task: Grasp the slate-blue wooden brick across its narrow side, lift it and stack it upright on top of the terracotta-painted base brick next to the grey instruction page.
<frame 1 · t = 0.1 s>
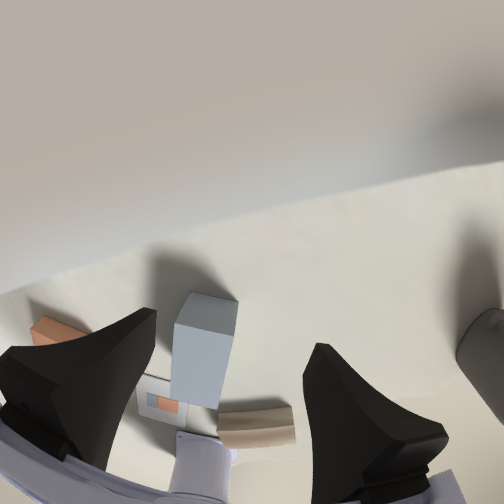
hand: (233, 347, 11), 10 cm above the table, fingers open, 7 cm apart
base brick: (75, 354, 25), on the table
top brick: (207, 335, 23), on the table
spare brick: (257, 419, 27), on the table
instruction page: (161, 401, 26), on the table
mug: (479, 326, 23), on the table
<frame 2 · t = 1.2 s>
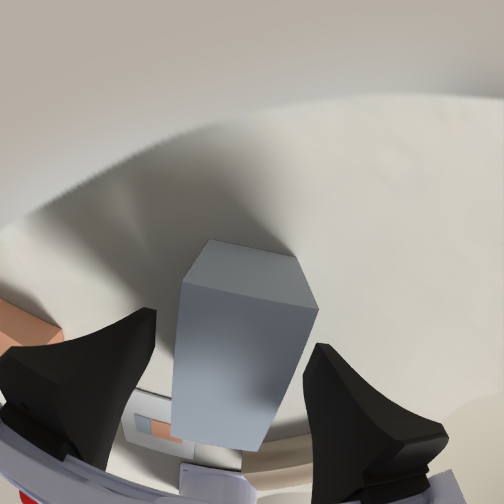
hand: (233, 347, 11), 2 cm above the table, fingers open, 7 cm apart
tomato: (51, 483, 30), on the table
base brick: (34, 352, 15), on the table
top brick: (236, 322, 14), on the table
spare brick: (299, 445, 17), on the table
instruction page: (157, 426, 16), on the table
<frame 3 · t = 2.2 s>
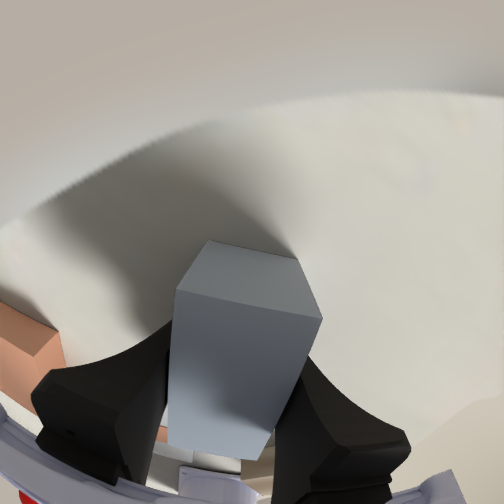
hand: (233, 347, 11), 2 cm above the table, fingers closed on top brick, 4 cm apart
tomato: (50, 483, 30), on the table
base brick: (31, 354, 15), on the table
top brick: (235, 327, 13), on the table, touching gripper
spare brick: (299, 449, 17), on the table
instruction page: (156, 430, 16), on the table
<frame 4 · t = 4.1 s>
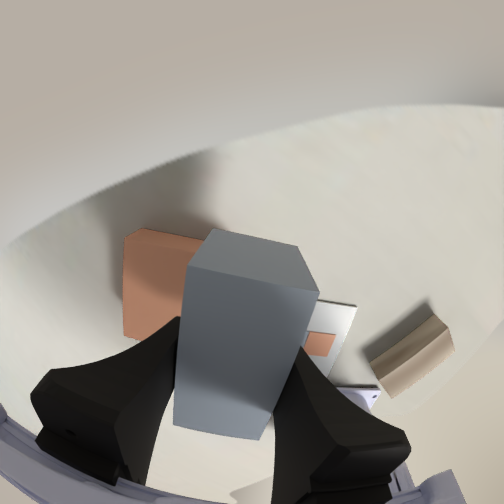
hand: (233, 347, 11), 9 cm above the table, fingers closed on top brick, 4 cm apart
base brick: (184, 286, 21), on the table
top brick: (238, 311, 14), point 7 cm above the table, touching gripper
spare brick: (407, 348, 23), on the table
instruction page: (309, 341, 22), on the table
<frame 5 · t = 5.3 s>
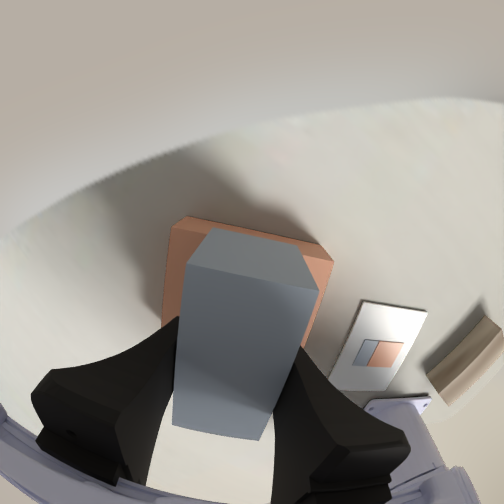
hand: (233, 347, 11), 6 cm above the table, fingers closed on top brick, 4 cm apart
base brick: (240, 292, 17), on the table
top brick: (238, 311, 14), point 3 cm above the table, touching base brick, gripper
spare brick: (460, 353, 19), on the table
instruction page: (376, 352, 18), on the table
when the fingers open (6 cm above the table, at t = 6.0 s): top brick stays where it is, resting on base brick.
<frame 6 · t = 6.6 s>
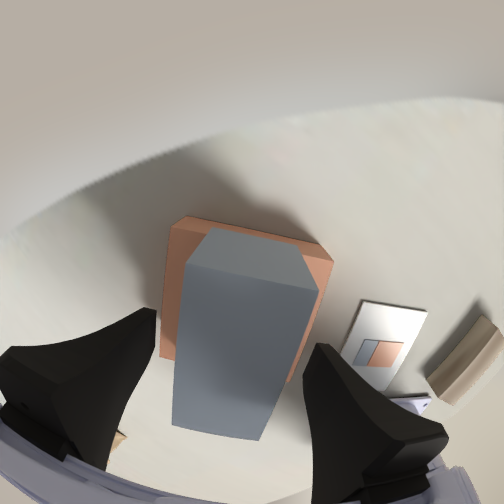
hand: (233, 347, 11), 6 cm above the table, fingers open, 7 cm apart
base brick: (240, 292, 17), on the table
decorative ornament: (103, 427, 23), on the table
top brick: (237, 310, 14), point 3 cm above the table, touching base brick
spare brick: (460, 353, 19), on the table
instruction page: (376, 352, 18), on the table
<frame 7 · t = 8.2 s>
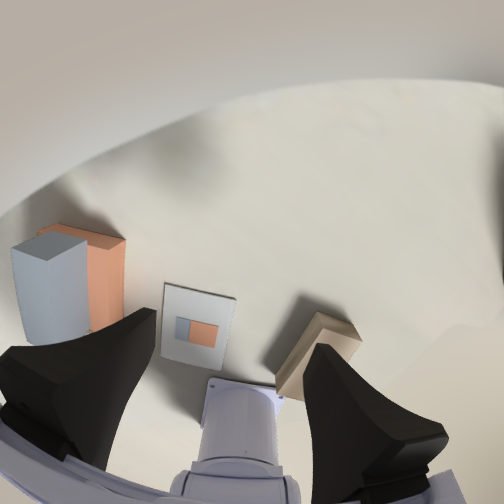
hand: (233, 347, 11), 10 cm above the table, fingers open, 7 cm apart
base brick: (87, 272, 22), on the table
top brick: (69, 280, 19), point 3 cm above the table, touching base brick
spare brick: (312, 350, 24), on the table
instruction page: (194, 331, 23), on the table
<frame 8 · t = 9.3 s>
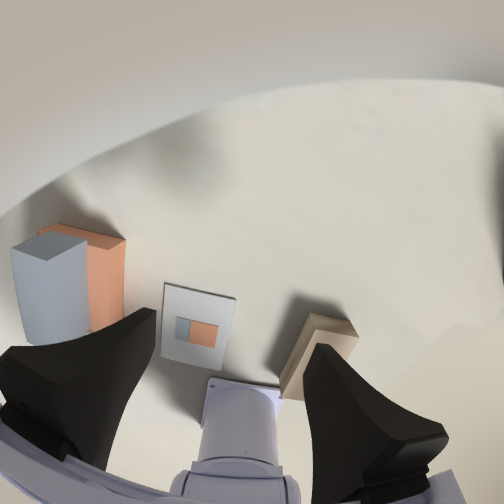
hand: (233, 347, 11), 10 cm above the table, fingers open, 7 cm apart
base brick: (87, 272, 22), on the table
top brick: (69, 280, 19), point 3 cm above the table, touching base brick
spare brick: (312, 350, 24), on the table
instruction page: (194, 331, 23), on the table
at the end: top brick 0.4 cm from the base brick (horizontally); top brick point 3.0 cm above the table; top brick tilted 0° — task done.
